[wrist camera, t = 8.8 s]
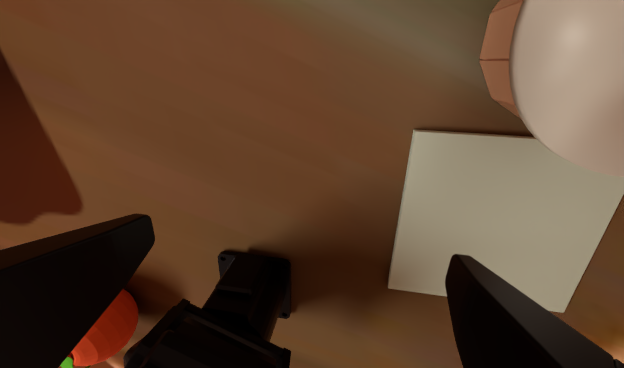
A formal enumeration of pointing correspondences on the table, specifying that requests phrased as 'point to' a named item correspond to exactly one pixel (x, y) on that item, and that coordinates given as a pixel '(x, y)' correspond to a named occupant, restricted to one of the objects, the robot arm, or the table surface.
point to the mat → (499, 214)
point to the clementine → (106, 333)
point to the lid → (572, 79)
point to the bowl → (500, 52)
